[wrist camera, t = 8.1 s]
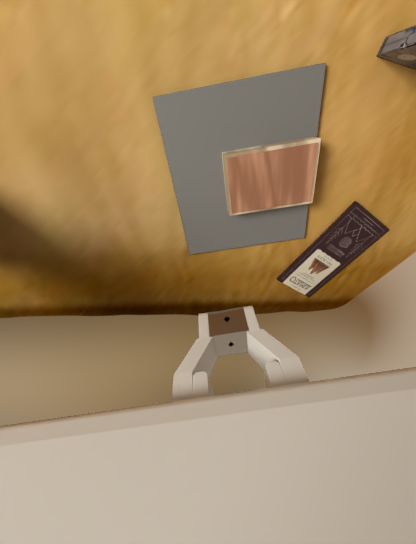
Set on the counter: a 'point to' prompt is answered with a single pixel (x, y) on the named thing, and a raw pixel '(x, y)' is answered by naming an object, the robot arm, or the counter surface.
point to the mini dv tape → (400, 48)
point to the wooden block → (271, 175)
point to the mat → (233, 136)
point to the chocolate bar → (333, 250)
